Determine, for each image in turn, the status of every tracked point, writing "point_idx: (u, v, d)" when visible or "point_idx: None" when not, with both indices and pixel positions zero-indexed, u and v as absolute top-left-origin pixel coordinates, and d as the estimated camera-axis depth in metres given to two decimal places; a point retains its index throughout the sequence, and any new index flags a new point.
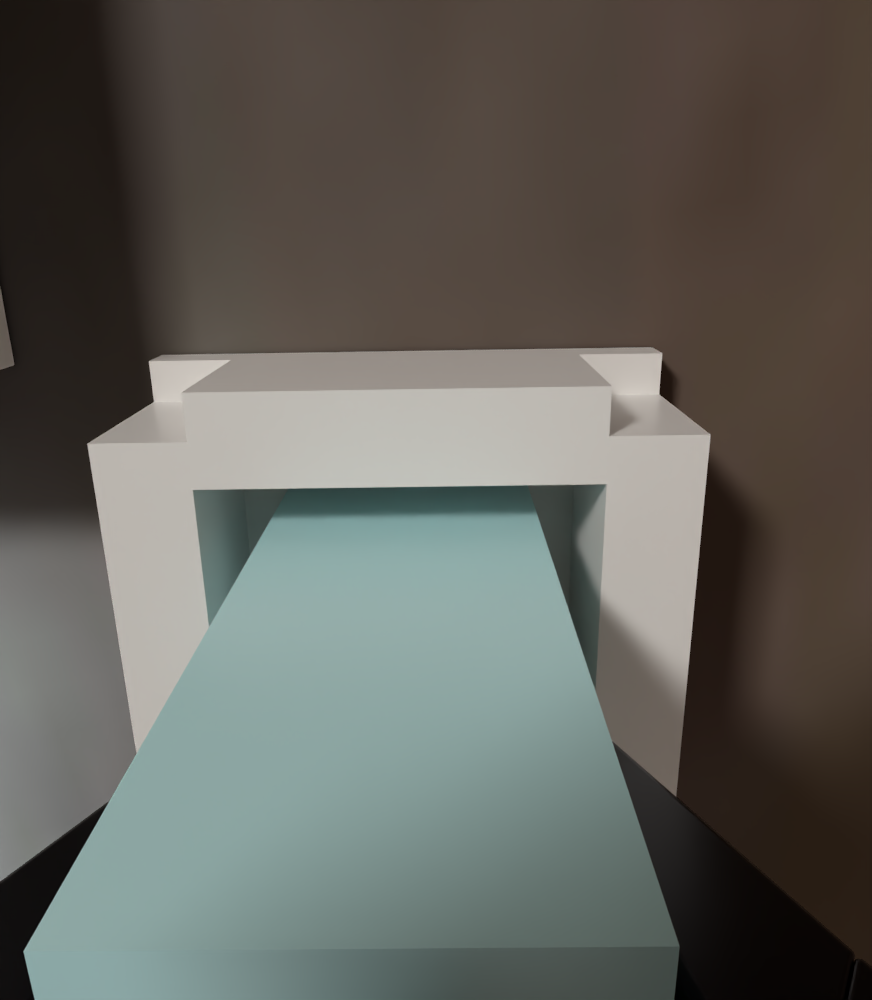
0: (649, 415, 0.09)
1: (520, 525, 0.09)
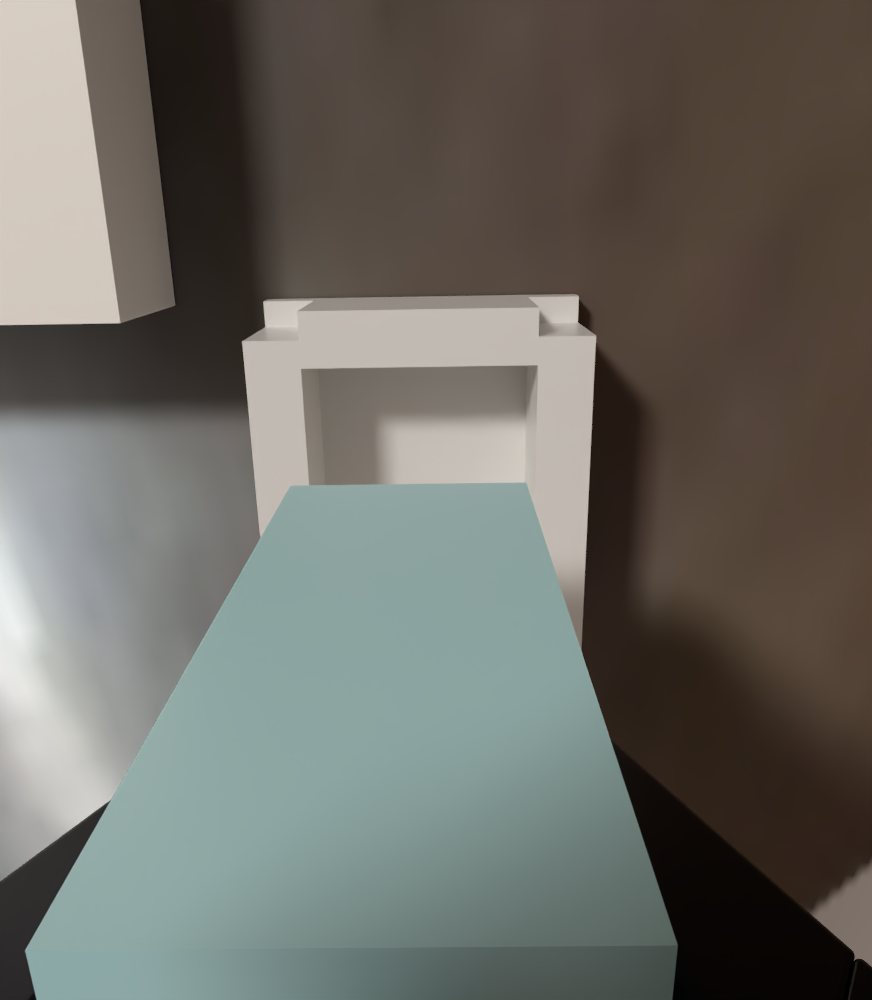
0: (566, 329, 0.15)
1: (520, 525, 0.09)
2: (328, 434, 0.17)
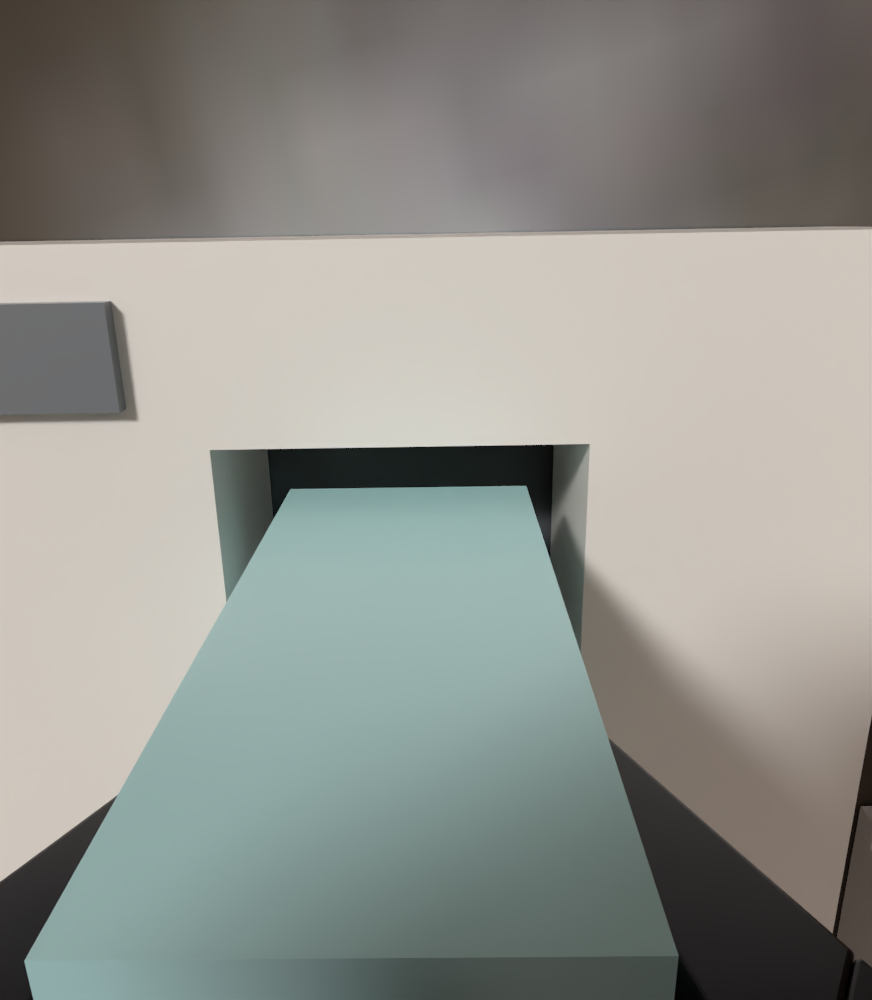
0: None
1: (520, 529, 0.09)
2: None
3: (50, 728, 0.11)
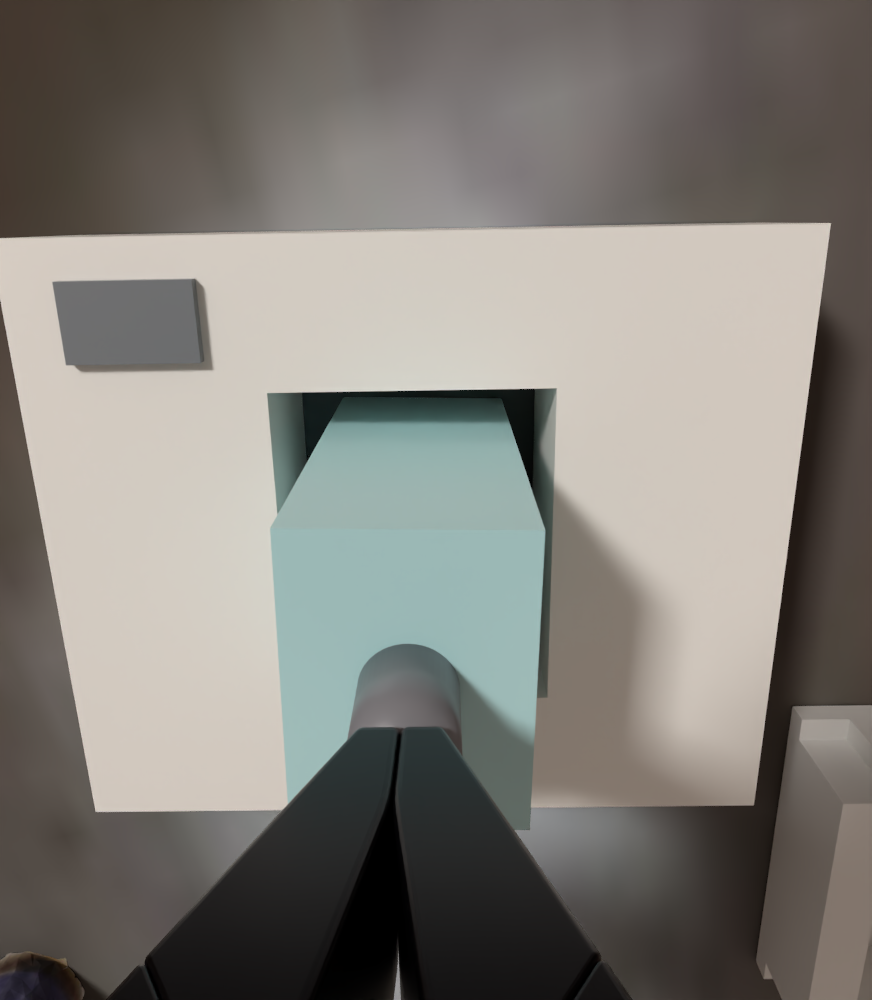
0: None
1: (494, 416, 0.14)
2: None
3: (136, 616, 0.14)
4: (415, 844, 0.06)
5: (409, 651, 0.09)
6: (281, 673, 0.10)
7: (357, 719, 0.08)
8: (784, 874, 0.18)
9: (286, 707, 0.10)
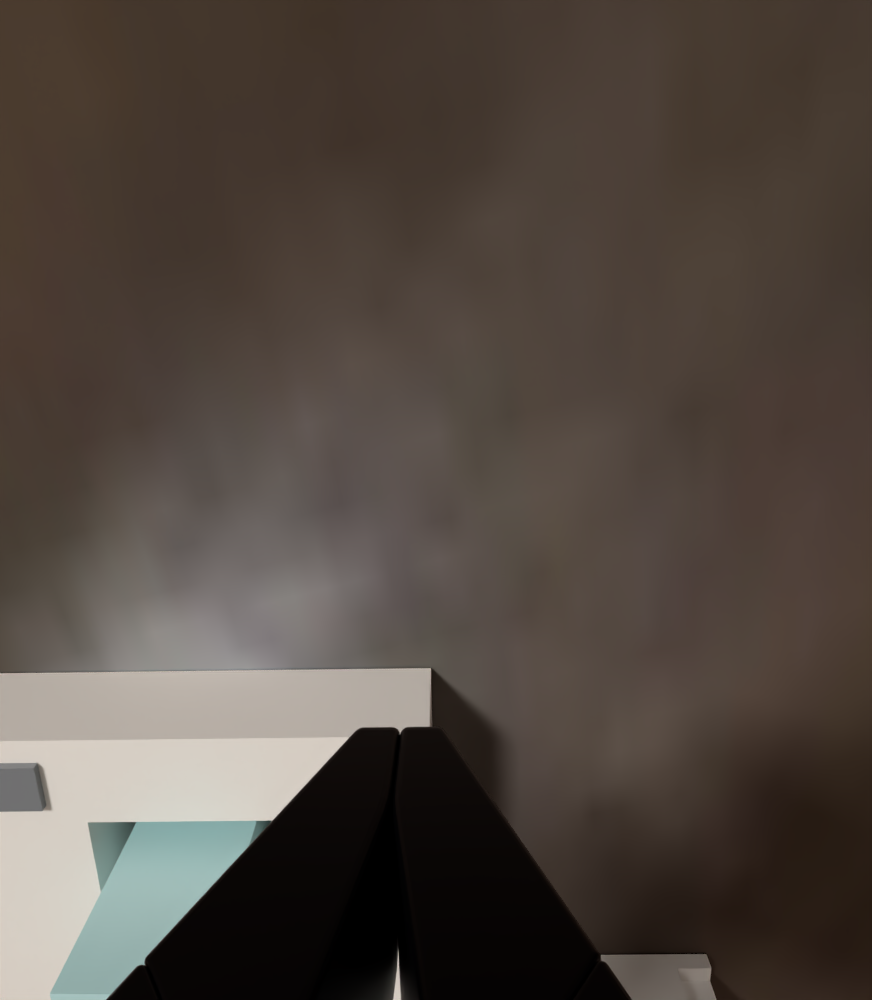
0: None
1: None
2: None
3: (12, 943, 0.21)
4: (414, 844, 0.06)
5: None
6: None
7: None
8: None
9: None
